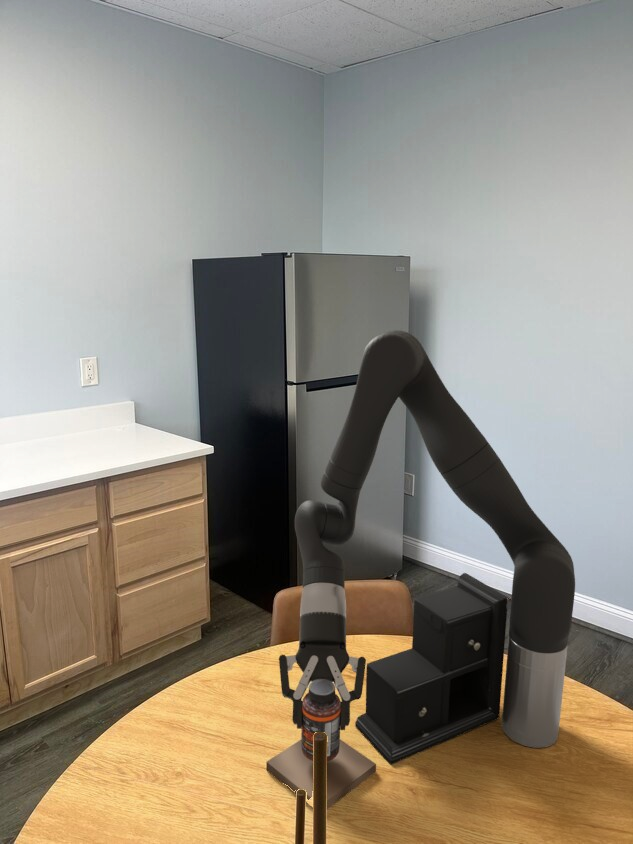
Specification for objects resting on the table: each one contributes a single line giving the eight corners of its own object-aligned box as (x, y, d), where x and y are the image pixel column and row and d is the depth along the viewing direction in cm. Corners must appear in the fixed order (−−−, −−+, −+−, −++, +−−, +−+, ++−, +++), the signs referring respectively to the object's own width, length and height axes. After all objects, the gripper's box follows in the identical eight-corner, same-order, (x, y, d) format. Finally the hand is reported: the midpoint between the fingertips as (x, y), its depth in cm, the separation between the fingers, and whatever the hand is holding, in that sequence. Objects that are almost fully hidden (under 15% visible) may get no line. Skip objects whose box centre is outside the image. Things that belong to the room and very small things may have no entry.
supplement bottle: (292, 751, 103) (293, 686, 100) (319, 732, 107) (320, 669, 104) (321, 770, 99) (323, 703, 96) (347, 750, 103) (349, 685, 100)
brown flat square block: (321, 734, 112) (321, 726, 111) (375, 772, 103) (376, 763, 103) (266, 769, 104) (266, 761, 103) (320, 814, 95) (320, 805, 95)
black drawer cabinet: (390, 766, 105) (396, 631, 100) (353, 726, 114) (357, 600, 109) (500, 720, 116) (511, 596, 111) (459, 687, 125) (466, 571, 120)
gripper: (278, 608, 106) (271, 724, 97) (368, 610, 106) (370, 726, 97) (280, 621, 112) (274, 731, 103) (365, 623, 112) (367, 733, 103)
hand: (321, 728), depth 100 cm, fingers closed on supplement bottle, 6 cm apart
